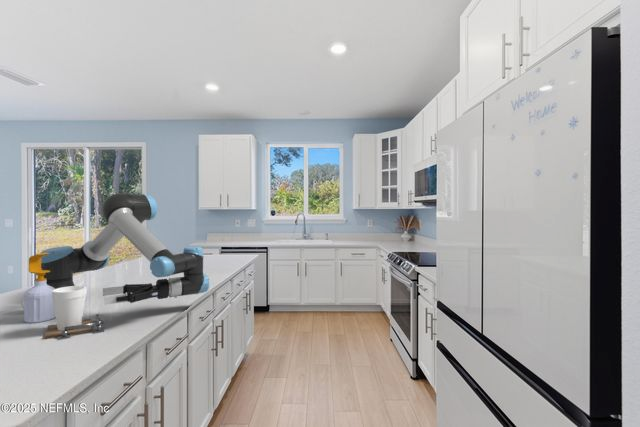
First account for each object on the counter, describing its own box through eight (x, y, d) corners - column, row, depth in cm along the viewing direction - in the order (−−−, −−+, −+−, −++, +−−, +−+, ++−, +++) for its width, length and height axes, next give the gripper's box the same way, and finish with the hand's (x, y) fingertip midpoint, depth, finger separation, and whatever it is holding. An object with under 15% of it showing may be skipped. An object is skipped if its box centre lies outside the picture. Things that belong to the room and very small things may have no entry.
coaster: (48, 327, 111) (48, 325, 111) (90, 321, 118) (90, 318, 118) (44, 339, 101) (44, 336, 101) (91, 331, 108) (91, 328, 108)
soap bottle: (37, 324, 114) (37, 255, 114) (17, 322, 116) (17, 254, 116) (62, 316, 123) (62, 251, 123) (43, 314, 125) (43, 251, 125)
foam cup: (47, 334, 103) (47, 293, 103) (55, 324, 111) (55, 287, 111) (83, 329, 107) (84, 290, 107) (89, 320, 116) (89, 284, 116)
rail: (60, 327, 111) (60, 318, 111) (102, 320, 118) (102, 312, 118) (58, 339, 101) (58, 329, 101) (104, 331, 108) (104, 322, 108)
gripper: (175, 305, 118) (105, 315, 105) (162, 291, 138) (102, 298, 125) (175, 284, 117) (105, 293, 105) (162, 273, 138) (102, 279, 125)
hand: (103, 296), depth 115 cm, fingers open, 13 cm apart
